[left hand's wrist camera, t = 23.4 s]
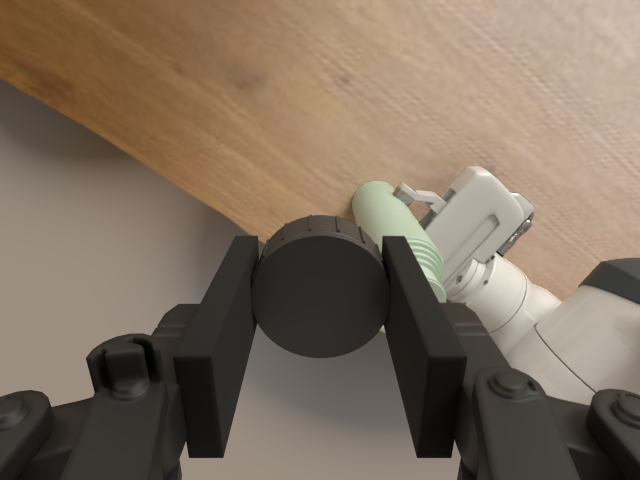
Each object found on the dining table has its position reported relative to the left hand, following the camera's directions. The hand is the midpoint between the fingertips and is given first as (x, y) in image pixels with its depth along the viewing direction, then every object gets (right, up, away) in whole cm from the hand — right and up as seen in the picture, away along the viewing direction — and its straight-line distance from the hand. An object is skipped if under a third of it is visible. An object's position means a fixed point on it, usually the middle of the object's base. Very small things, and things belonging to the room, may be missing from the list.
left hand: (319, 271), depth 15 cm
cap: (0, -1, -1) cm, 2 cm away
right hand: (+6, +4, +28) cm, 29 cm away
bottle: (+6, +5, +34) cm, 35 cm away
